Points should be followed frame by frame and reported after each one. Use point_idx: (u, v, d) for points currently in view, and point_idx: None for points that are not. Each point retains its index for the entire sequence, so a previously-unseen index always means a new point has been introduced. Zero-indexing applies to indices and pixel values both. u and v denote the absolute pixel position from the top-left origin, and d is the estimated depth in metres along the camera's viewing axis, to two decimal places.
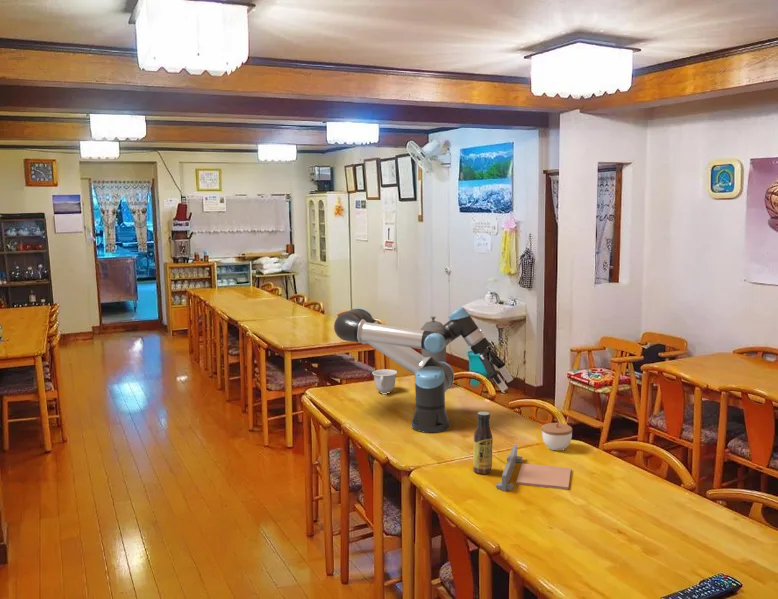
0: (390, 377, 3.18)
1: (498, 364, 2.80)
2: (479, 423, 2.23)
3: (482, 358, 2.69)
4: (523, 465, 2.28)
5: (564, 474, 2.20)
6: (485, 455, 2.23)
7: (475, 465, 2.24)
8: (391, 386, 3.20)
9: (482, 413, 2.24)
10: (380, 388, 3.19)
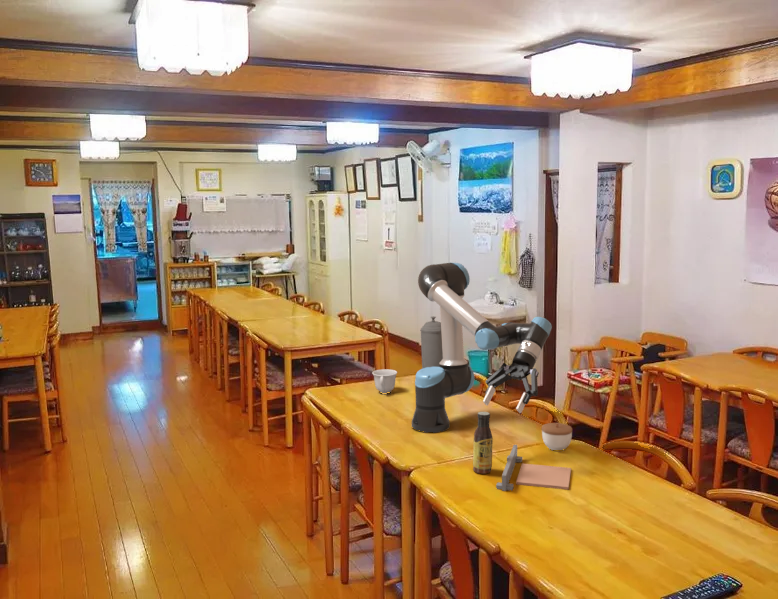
0: (390, 377, 3.18)
1: None
2: (479, 423, 2.23)
3: None
4: (523, 465, 2.28)
5: (564, 474, 2.20)
6: (485, 455, 2.23)
7: (475, 465, 2.24)
8: (391, 386, 3.20)
9: (482, 413, 2.24)
10: (380, 388, 3.19)
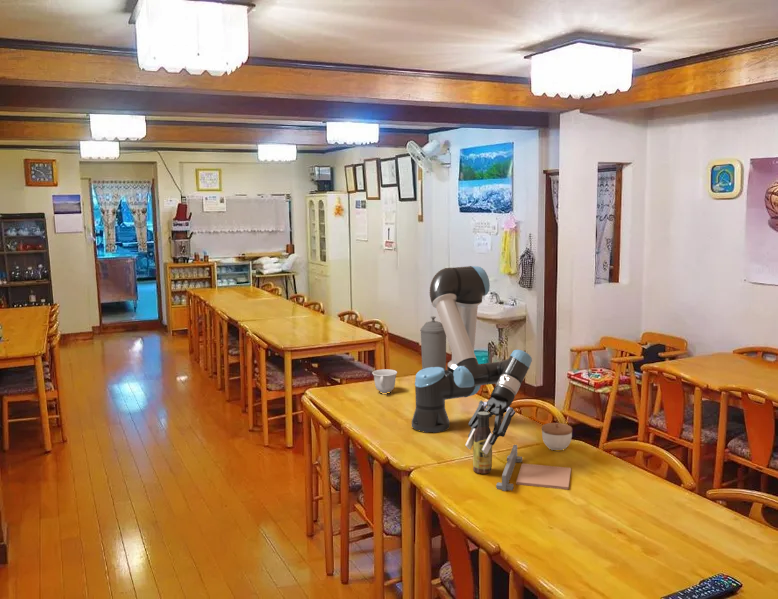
0: (390, 377, 3.18)
1: None
2: (479, 423, 2.23)
3: None
4: (523, 465, 2.28)
5: (564, 474, 2.20)
6: (485, 455, 2.23)
7: (475, 465, 2.24)
8: (391, 386, 3.20)
9: (481, 413, 2.24)
10: (380, 388, 3.19)
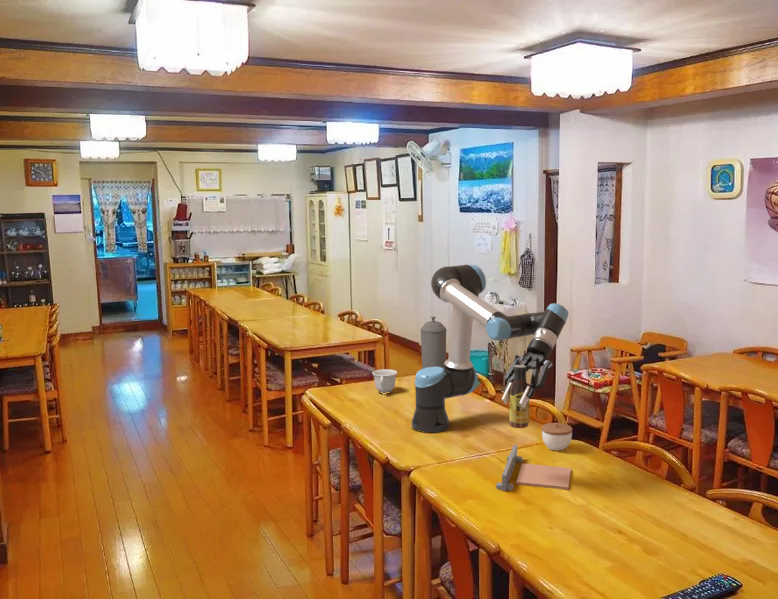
0: (390, 377, 3.18)
1: None
2: (515, 376, 2.17)
3: None
4: (523, 465, 2.28)
5: (564, 474, 2.20)
6: (522, 409, 2.16)
7: (512, 419, 2.18)
8: (391, 386, 3.20)
9: (518, 366, 2.18)
10: (380, 388, 3.19)
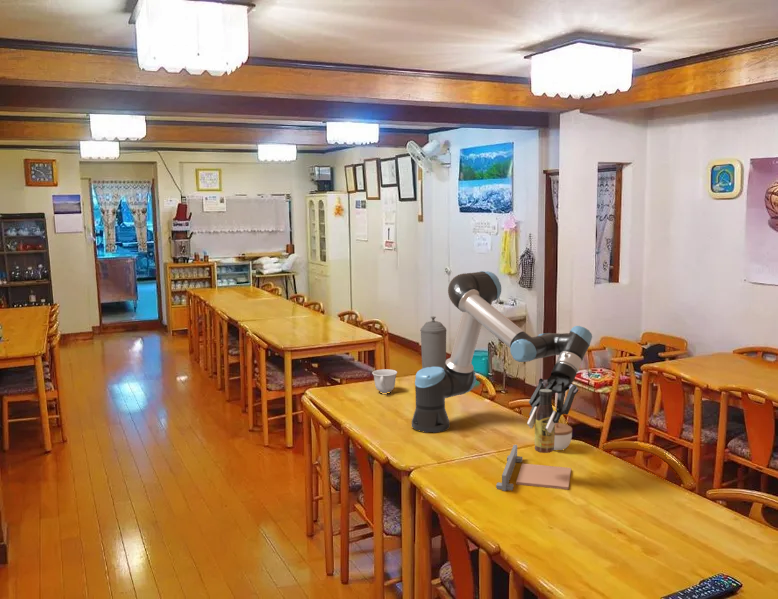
0: (390, 377, 3.18)
1: None
2: (541, 400, 2.16)
3: None
4: (523, 465, 2.28)
5: (564, 474, 2.20)
6: (548, 433, 2.15)
7: (537, 444, 2.17)
8: (391, 386, 3.20)
9: (544, 390, 2.16)
10: (380, 388, 3.19)
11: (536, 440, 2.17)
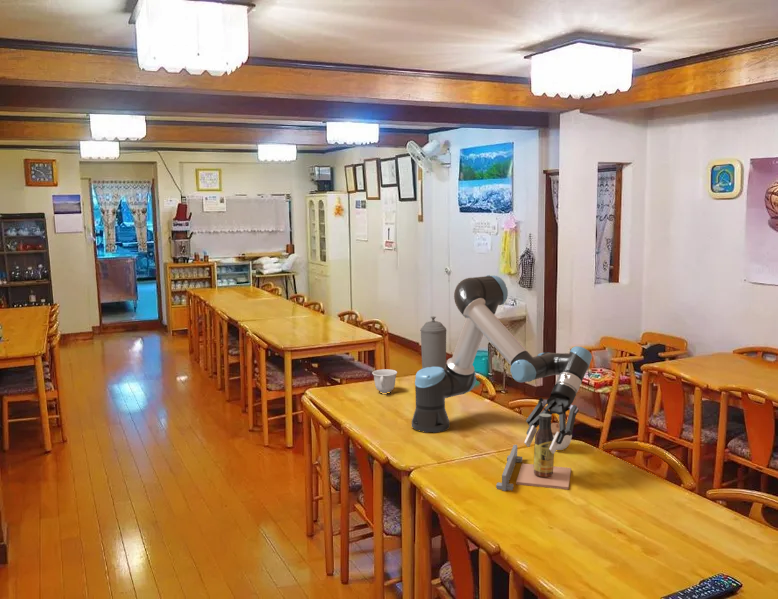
0: (390, 377, 3.18)
1: None
2: (541, 425, 2.18)
3: None
4: (523, 465, 2.28)
5: (564, 474, 2.20)
6: (547, 458, 2.17)
7: (536, 468, 2.18)
8: (391, 386, 3.20)
9: (543, 415, 2.18)
10: (380, 388, 3.19)
11: (535, 464, 2.19)
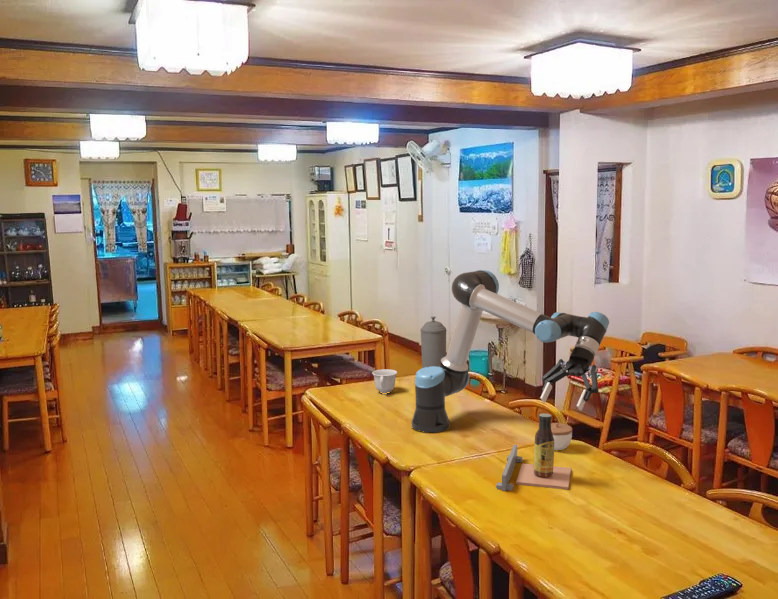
0: (390, 377, 3.18)
1: None
2: (541, 425, 2.17)
3: None
4: (523, 465, 2.28)
5: (564, 474, 2.20)
6: (547, 458, 2.17)
7: (536, 468, 2.18)
8: (391, 386, 3.20)
9: (543, 415, 2.18)
10: (380, 388, 3.19)
11: (535, 464, 2.19)
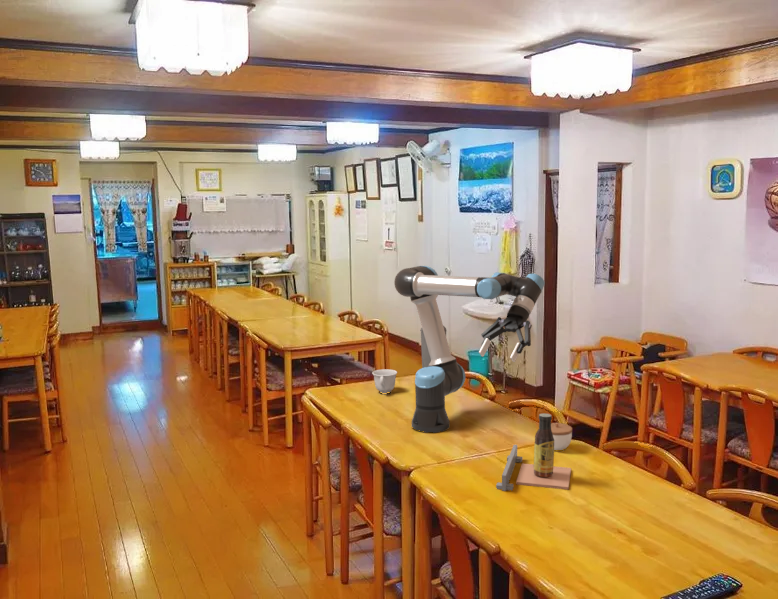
0: (390, 377, 3.18)
1: None
2: (541, 425, 2.17)
3: None
4: (523, 465, 2.28)
5: (564, 474, 2.20)
6: (547, 458, 2.17)
7: (536, 468, 2.18)
8: (391, 386, 3.20)
9: (543, 415, 2.18)
10: (380, 388, 3.19)
11: (535, 464, 2.19)
